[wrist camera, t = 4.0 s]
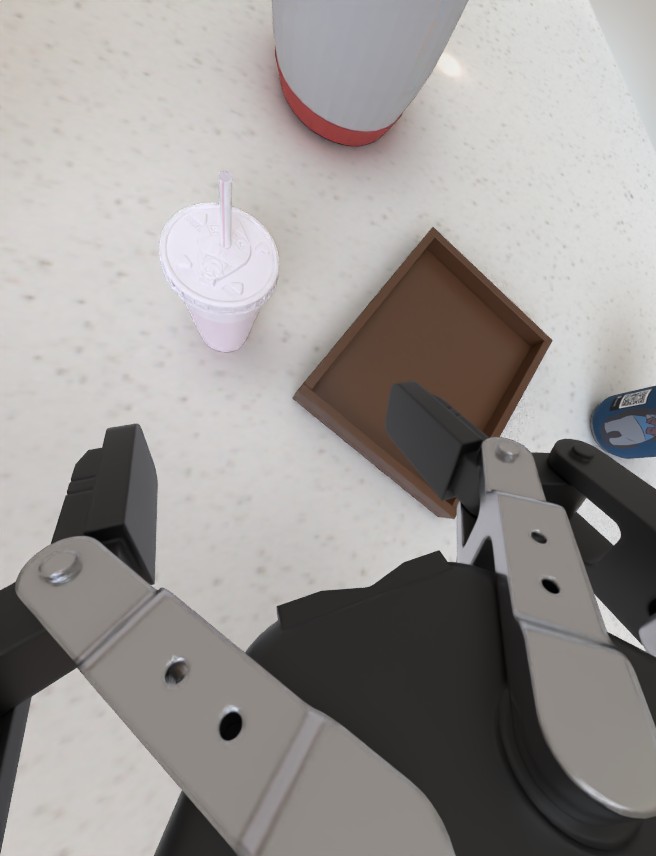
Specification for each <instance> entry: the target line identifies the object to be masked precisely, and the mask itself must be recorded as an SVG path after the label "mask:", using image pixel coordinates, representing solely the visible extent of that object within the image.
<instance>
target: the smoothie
mask: <svg viewBox="0 0 656 856" xmlns="http://www.w3.org/2000/svg"><path fill="white" fill-rule="evenodd" d="M159 253H160V258H161V265H162V269H163V272H164V276H165V278H166V280H167V281H168V283H169V285H170V286H171V288H172V289H173V291H174V292H175V293H176V294H177V295H178V296H179V297H181V298H182V299H183V301H184V303H185V305H186V307H187V309H188V311H189V313H190V315H191V317H192V319H193V321H194V323H195V325H196V327H197V329H198V331H199V333H200V335H201V337H202V339H203V340H204V342H205V343H206V344H207V345H208V346H209V347H211V348H212V349H214V350H217V351H220V352H231V351H234V350H237V349H238V348H240V347H241V346H242V345H243V344H244V342H245V341H246V339H247V336H248V334H249V332H250V330H251V327H252V325H253V323H254V321H255V319H256V316H257V314H258V312H259V310H260V308H261V305H262V304H264V303H265V302H266V301H267V300H268V299H269V298H270V296H271V294H272V293H273V291H274V290H275V287H276V283H277V280H278V271H279V255H278V250H277V247H276V245H275V242H274V240H273V238H272V237H271V235H270V233H269V232H268V231H267V229H266V228H265V227H264V226H263V225H262V224H261V223H260V222H259V221H258V220H257V219H255V218H254V217H253V216H251V215H250V214H248V213H247V212H245V211H243V210H241V209H239V208H236V207H233V206H232V176H231V174H230V173H229V172H227V171H221V172H220V173H219V203H211V202H209V203H198V204H194V205H191V206H188V207H186V208H183V209H182V210H180V211H178V212H177V213H176V214H174V215H173V216H172V217H171V218H170V219H169V220H168V222H167V223H166V225H165V226H164V228H163V230H162V233H161V236H160V241H159Z"/></svg>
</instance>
